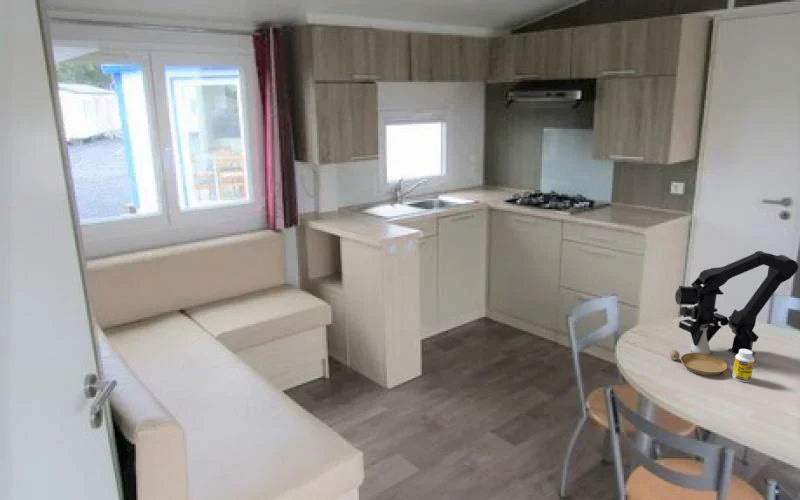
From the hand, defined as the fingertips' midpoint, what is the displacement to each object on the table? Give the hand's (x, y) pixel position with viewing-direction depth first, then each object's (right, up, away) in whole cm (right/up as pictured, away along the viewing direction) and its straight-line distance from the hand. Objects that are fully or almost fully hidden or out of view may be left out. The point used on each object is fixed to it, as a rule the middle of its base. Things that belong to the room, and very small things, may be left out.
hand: (700, 343), depth 217 cm
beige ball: (-13, -3, -6) cm, 14 cm away
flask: (0, -3, +1) cm, 3 cm away
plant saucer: (-5, -7, -12) cm, 15 cm away
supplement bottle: (+4, -9, -19) cm, 22 cm away
